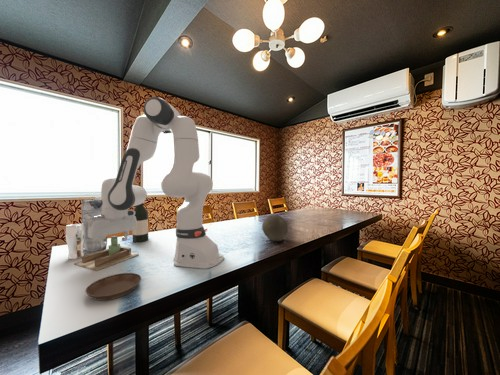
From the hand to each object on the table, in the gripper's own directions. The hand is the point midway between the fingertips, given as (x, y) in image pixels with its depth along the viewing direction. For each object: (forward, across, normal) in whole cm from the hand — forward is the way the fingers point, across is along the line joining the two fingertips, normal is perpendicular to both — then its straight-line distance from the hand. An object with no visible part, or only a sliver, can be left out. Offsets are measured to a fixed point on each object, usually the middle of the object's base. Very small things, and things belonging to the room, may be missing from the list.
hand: (114, 243), depth 93 cm
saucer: (+7, -18, -29) cm, 35 cm away
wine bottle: (+7, +23, +13) cm, 27 cm away
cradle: (+6, -3, 0) cm, 7 cm away
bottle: (+6, 0, 0) cm, 6 cm away
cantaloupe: (+7, +52, -61) cm, 80 cm away
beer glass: (+7, -7, +17) cm, 20 cm away
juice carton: (+7, +3, +21) cm, 22 cm away
